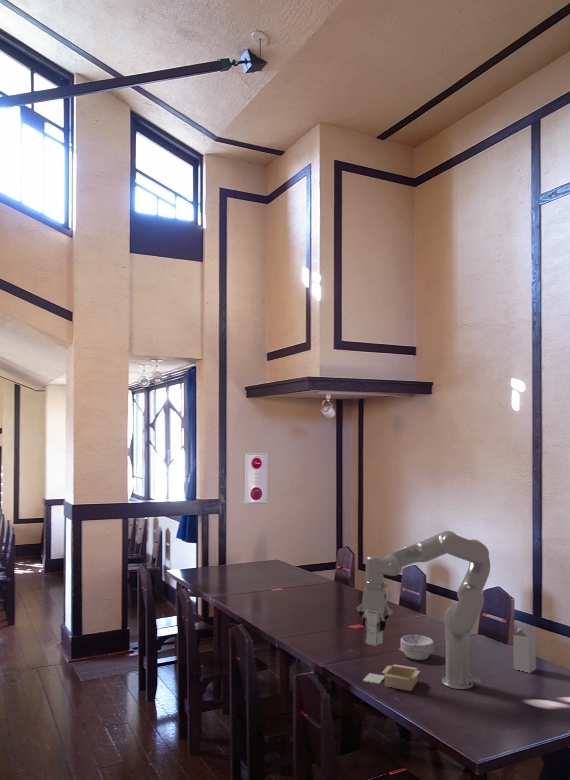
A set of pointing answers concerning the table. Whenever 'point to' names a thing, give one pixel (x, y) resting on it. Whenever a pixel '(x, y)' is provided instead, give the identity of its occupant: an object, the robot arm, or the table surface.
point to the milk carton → (524, 650)
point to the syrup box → (373, 628)
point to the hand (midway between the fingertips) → (374, 628)
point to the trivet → (374, 678)
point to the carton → (400, 677)
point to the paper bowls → (417, 646)
